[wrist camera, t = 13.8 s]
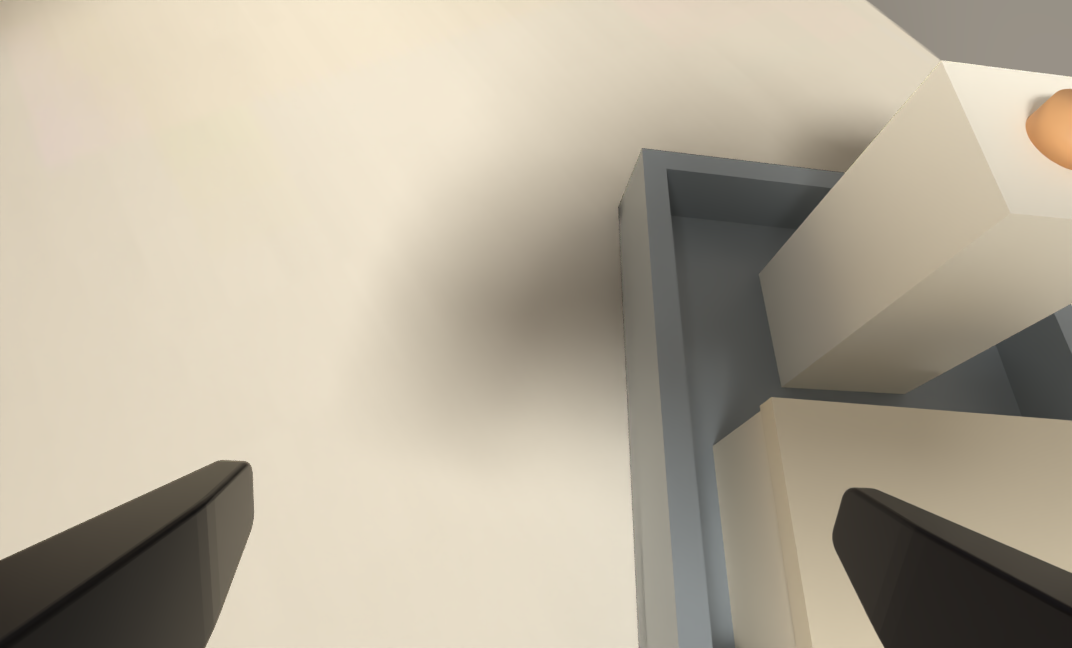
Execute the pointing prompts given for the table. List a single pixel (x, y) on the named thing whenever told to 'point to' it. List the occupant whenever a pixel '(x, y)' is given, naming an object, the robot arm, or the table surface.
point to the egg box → (889, 466)
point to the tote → (745, 366)
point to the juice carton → (931, 237)
